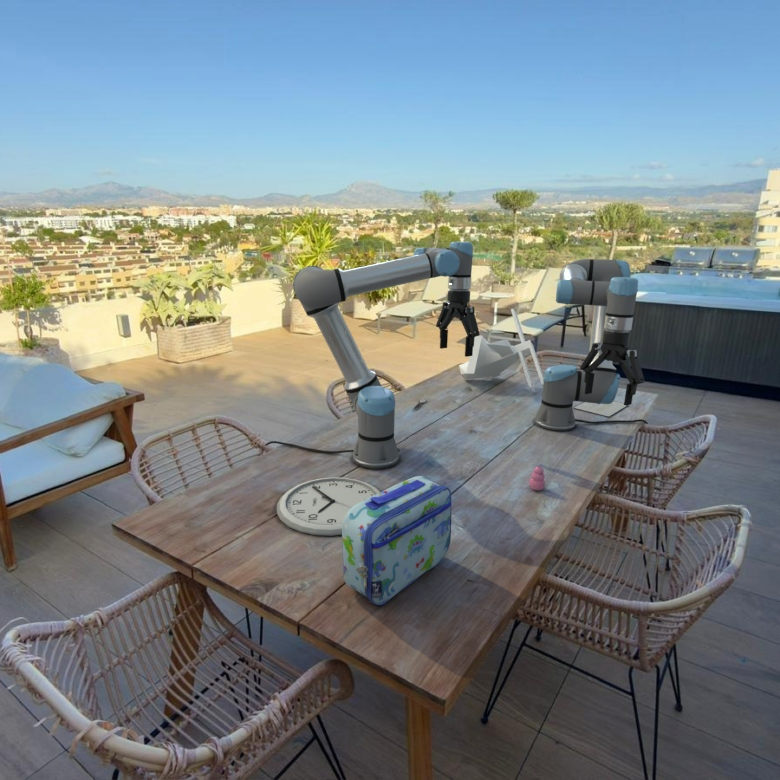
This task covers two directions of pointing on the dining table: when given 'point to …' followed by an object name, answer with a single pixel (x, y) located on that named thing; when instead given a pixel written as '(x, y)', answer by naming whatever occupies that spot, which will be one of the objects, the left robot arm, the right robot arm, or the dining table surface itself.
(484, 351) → the white plastic object
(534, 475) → the dog chew toy
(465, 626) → the dining table surface
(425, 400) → the fork
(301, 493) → the wall clock
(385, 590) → the lunch box
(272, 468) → the dining table surface
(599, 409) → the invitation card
